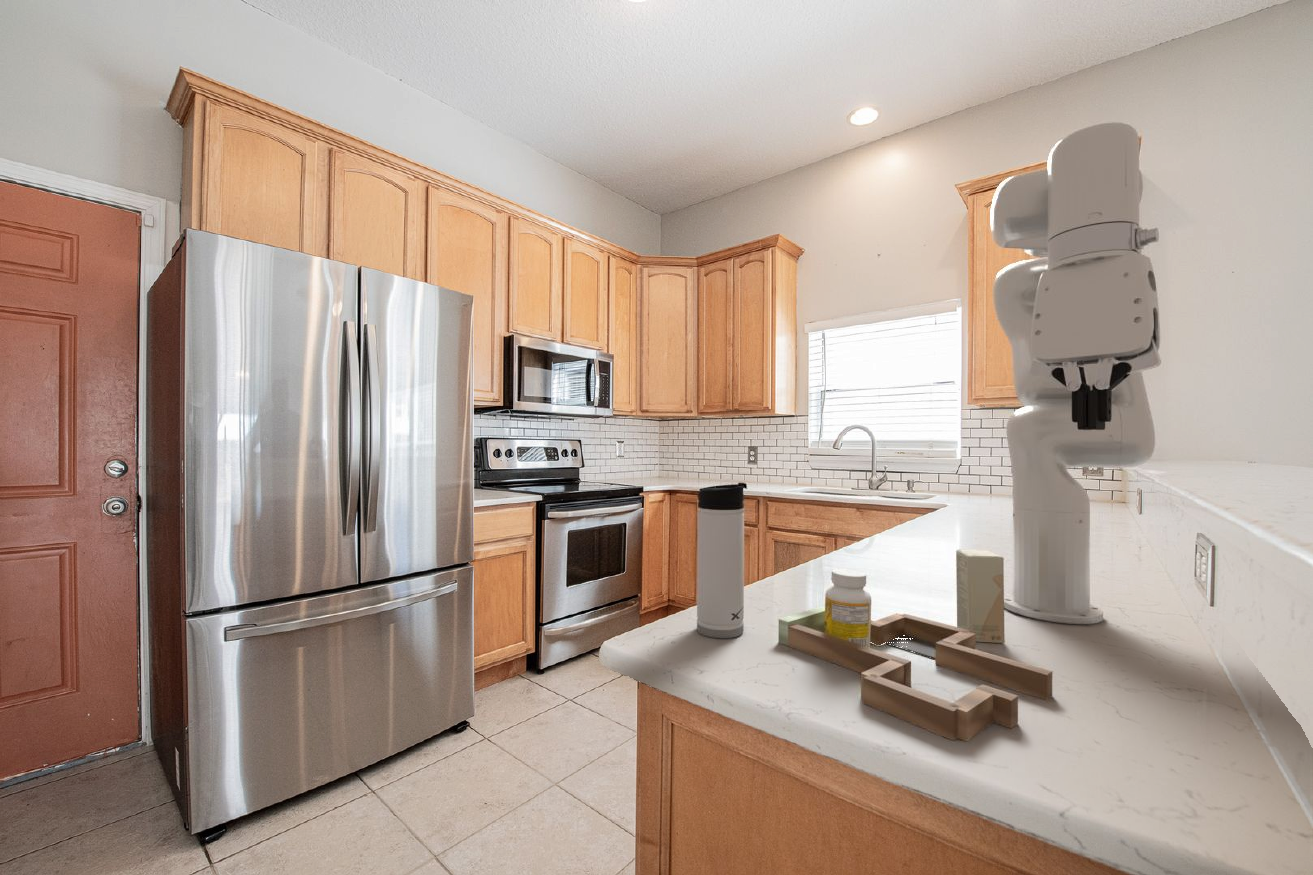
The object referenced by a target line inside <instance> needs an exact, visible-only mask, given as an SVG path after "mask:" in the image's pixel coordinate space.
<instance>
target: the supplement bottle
mask: <svg viewBox="0 0 1313 875" xmlns="http://www.w3.org/2000/svg"><path fill="white" fill-rule="evenodd" d="M831 583H832V584H833V585H832V586H829V587H828V588H827V589H826V590H825V595H824V596H825V597H824V606H825V627H824V633H826V634H829V635H832V636H835V637H838V638H841V639H844V640H847V641H850V642H853V643H857V644H860V645H863V646H866V647H869V648H871V644H870V629H871V619H872V596H871V594H870V593H869V591H867V589H864V587H866V585H867V574H866V573H865V572H863V571H859V570H855V569H848V568H836V569H832V570H831Z"/></svg>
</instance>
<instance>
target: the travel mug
mask: <svg viewBox="0 0 1313 875" xmlns="http://www.w3.org/2000/svg"><path fill="white" fill-rule="evenodd" d="M747 485H748V484H747V483H746V482H737V484H736V483H734V484H732V483H731V484H720V485H719V484H718V485H713V486H707V487H702V488H699V491H697V492H698V493H697V496H698V497H697V500H698V502H697V538H696V539H697V542H696V543H697V548H696V549H697V552H696V553H697V555H696V556H697V562H696V563H697V566H696V568H697V570H696V571H697V572H696V573H697V574H696V578H697V579H696V580H697V582H696V593H697V594H696V595H697V596H696V618H697V619H696V629H697V631H698V633H699V634H701V635H702V636H704V637H709V638H712V639H726V640H727V639H733V638H737V637H740V636H741V635H742V634H743V633H744V629H745V628H744V626H745V625H744V619H745V618H744V616H745V615H744V613H745V610H744V609H745V607H744V606H745V601H744V600H745V595H744V594H745V593H744V592H745V513H744V512H745V503H744V499H745V497H744V489H746V490H747V489H748V486H747Z"/></svg>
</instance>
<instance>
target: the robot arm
mask: <svg viewBox="0 0 1313 875" xmlns="http://www.w3.org/2000/svg"><path fill="white" fill-rule="evenodd" d="M1143 182H1144V181H1143V174H1142V172H1141V170H1140V137H1139V134H1138V131H1137V130H1136V128H1134V127H1133V126H1132V125H1130V124H1128V123H1123V122H1105V123H1099V124H1094V125H1090V126H1087V127H1083V128H1081V129H1079V130H1077V131H1074V132H1072V133H1070V134H1068V135H1066V136H1065V137H1063V138H1062V139H1061V140H1060V141H1058V142H1057V143H1056V144H1055V146H1053V148H1052V149H1051V151H1050V153H1049V156H1048V160H1047V168H1046V169H1040V170H1035V171H1031V172H1027V173H1021V174H1017V175H1014V176H1011V177H1008V178H1006V179H1005V180H1003V181H1002V182H1001V183H1000V184H999V186H998V187H997V188H996V191H995V193H994V195H993V198H992V204H991V208H990V216H989V218H990V221H989V222H990V225H989V226H990V231H991V235H992V238H993V241H994V242H995V244H996V245H997V246H998V247H1000V248H1003V249H1005V248H1006V249H1021V250H1022V251H1023V252H1024V253H1025V254H1027V255H1029V256H1031V257H1032V256H1033V257H1037V258H1031V259H1027V260H1026V259H1025V260H1022V261H1017V262H1014V263H1012V264H1009V265H1007V266H1006V267H1004V268H1003V269H1001V270H1000V271H999V272H998V273H997V275H996V277H995V279H994V282H993V286H992V287H993V288H992V290H993V291H992V294H993V295H992V297H993V305H994V309H995V314H996V317H997V320H998V322H999V325H1000V327H1001V328H1002V330H1003V333H1004V334H1005V336H1006V338H1007V339H1008V342H1009V343H1010V346H1011V355H1012V367H1013V382H1014V391H1015V395H1016V398H1017V399H1018V401H1019V402H1020V404H1021V405H1023V406H1022V407H1020V408H1018V409H1016V410H1015V411H1014V412H1012V413H1011V415H1010V416H1009V418H1008V420H1007V423H1006V439H1007V445H1008V451H1009V453H1008V454H1009V458H1010V464H1011V474H1012V477H1011V478H1012V507H1013V509H1012V510H1013V511H1012V548H1013V549H1012V588H1013V589H1012V593H1007V594H1004V609H1006V610H1008V611H1009V612H1012V613H1015V614H1016V615H1020V616H1024V617H1027V618H1031V619H1036V620H1040V621H1045V622H1052V623H1060V624H1068V625H1069V624H1070V625H1093V624H1097V623H1101V622H1103V620H1104V611H1103V610H1102V609H1101V608H1100V607H1098V606H1095V605H1094V604H1091V597H1090V596H1091V584H1090V583H1091V577H1090V576H1091V506H1090V505H1091V504H1090V503H1091V502H1090V497H1089V495H1088V493H1087V491H1086V489H1085V488H1084V487H1083V486H1082V484H1081V483H1080V482H1079V481H1078V480H1076V478H1074V476H1072V474H1070V473H1069V471H1068V469H1070V468H1106V469H1107V468H1119V469H1120V468H1134V467H1139V466H1142V465H1144V464H1145V463H1147V462H1148V461H1149V460H1151V457H1152V456H1153V453H1154V451H1155V447H1156V446H1155V445H1156V434H1155V426H1154V421H1153V415H1152V411H1151V409H1150V408H1151V407H1150V403H1149V398H1148V394H1147V390H1146V386H1145V381H1144V377H1143V372H1144V371H1147V370H1152V369H1154V368H1158V367H1159V366H1160V365H1161V364H1162V360H1161V359H1162V358H1161V357H1160V354H1159V349H1160V345H1161V324H1160V311H1159V310H1160V307H1159V298H1158V290H1157V283H1156V277H1155V273H1154V268H1153V264H1152V262H1151V258H1150V257H1149V256H1147V255H1145V254H1142V250H1144V248H1145V246H1149V245H1150V244H1152V243H1158V242H1159V238H1160V237H1159V236H1160V234H1159V229H1158V228H1157V227H1156V228H1155V227H1154V228H1150V229H1148V228H1144V229H1143V228H1142V227H1141V226H1140V203H1141V200H1142V196H1143V189H1144V188H1143V187H1144V185H1143V184H1144V183H1143Z"/></svg>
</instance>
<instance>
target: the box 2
mask: <svg viewBox="0 0 1313 875" xmlns="http://www.w3.org/2000/svg"><path fill="white" fill-rule="evenodd" d="M955 554H956V555H955V556H956V558H955V561H956V564H955V566H956V572H955V573H956V577H955V578H956V627H959V628H963V629H966V630H970V631H972V633H974V634H976V642H982V643H995V644H996V643H998V644H1005V639H1006V638H1005V608H1004V595H1005V589H1004V587H1005V584H1004V582H1005V580H1004V579H1005V578H1004V576H1005V575H1004V574H1005V573H1004V571H1005V570H1004V563H1005V561H1004V559H1005V558H1004V556H1002V555H999V554H997V553H994V552H992V551H990V550H982V549H981V550H980V549H979V550H978V549H956V550H955Z"/></svg>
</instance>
